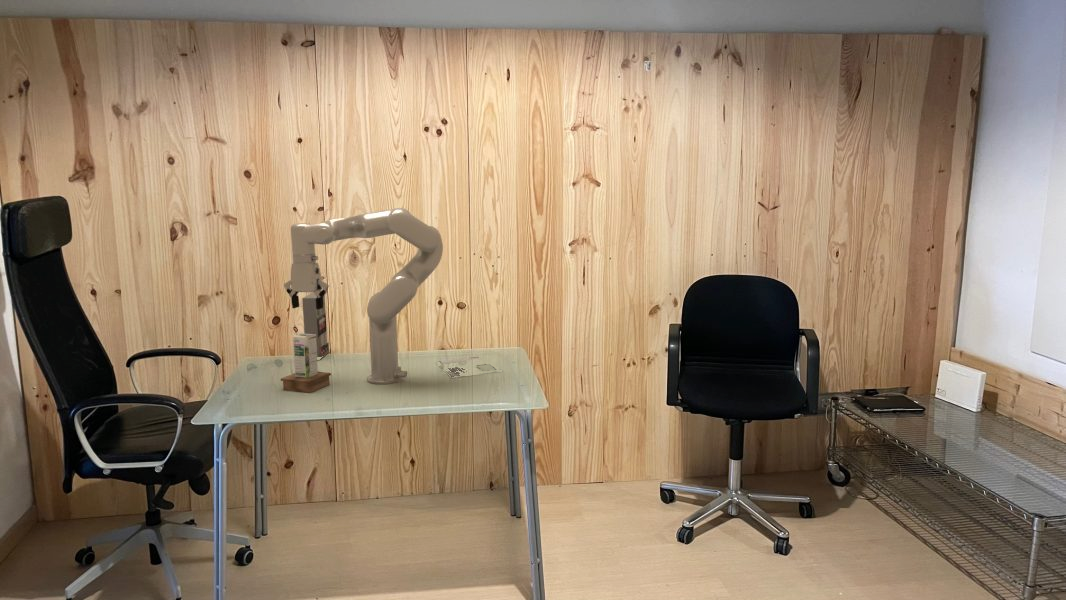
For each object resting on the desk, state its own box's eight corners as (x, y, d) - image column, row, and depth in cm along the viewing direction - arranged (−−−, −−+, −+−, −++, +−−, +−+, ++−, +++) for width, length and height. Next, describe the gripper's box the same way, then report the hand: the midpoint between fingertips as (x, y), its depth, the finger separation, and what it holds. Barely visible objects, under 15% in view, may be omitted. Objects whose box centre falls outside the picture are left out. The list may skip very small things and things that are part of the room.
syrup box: (294, 377, 266) (291, 335, 264) (305, 372, 272) (302, 332, 269) (308, 378, 264) (306, 337, 262) (318, 374, 270) (316, 333, 267)
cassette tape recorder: (321, 360, 306) (317, 298, 302) (305, 360, 306) (301, 298, 302) (329, 352, 320) (326, 292, 315) (315, 352, 320) (311, 292, 315)
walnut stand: (331, 383, 272) (331, 372, 271) (310, 393, 261) (309, 381, 260) (303, 380, 276) (302, 370, 275) (281, 389, 265) (280, 378, 264)
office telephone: (434, 359, 299) (484, 353, 306) (435, 365, 299) (484, 360, 307) (451, 372, 278) (503, 366, 285) (451, 379, 278) (503, 373, 285)
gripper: (332, 258, 266) (335, 307, 269) (289, 257, 272) (293, 305, 275) (319, 261, 259) (323, 311, 262) (276, 260, 265) (280, 309, 268)
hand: (307, 308), depth 268 cm, fingers open, 9 cm apart
